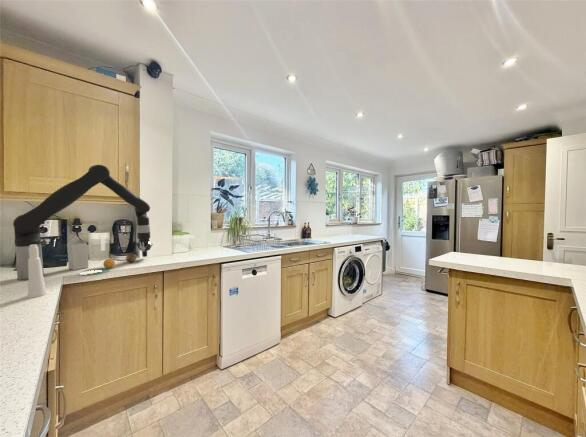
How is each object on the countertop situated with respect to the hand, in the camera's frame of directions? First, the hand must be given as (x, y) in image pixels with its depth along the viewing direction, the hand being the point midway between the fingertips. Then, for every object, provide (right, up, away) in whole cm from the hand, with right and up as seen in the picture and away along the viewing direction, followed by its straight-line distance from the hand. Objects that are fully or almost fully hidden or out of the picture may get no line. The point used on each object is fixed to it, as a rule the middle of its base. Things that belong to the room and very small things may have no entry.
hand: (144, 256), depth 172 cm
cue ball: (-3, 0, -10) cm, 10 cm away
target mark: (-10, -4, -30) cm, 32 cm away
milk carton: (-26, -4, -23) cm, 35 cm away
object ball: (-8, -1, -23) cm, 24 cm away
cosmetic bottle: (-9, -7, -64) cm, 65 cm away
